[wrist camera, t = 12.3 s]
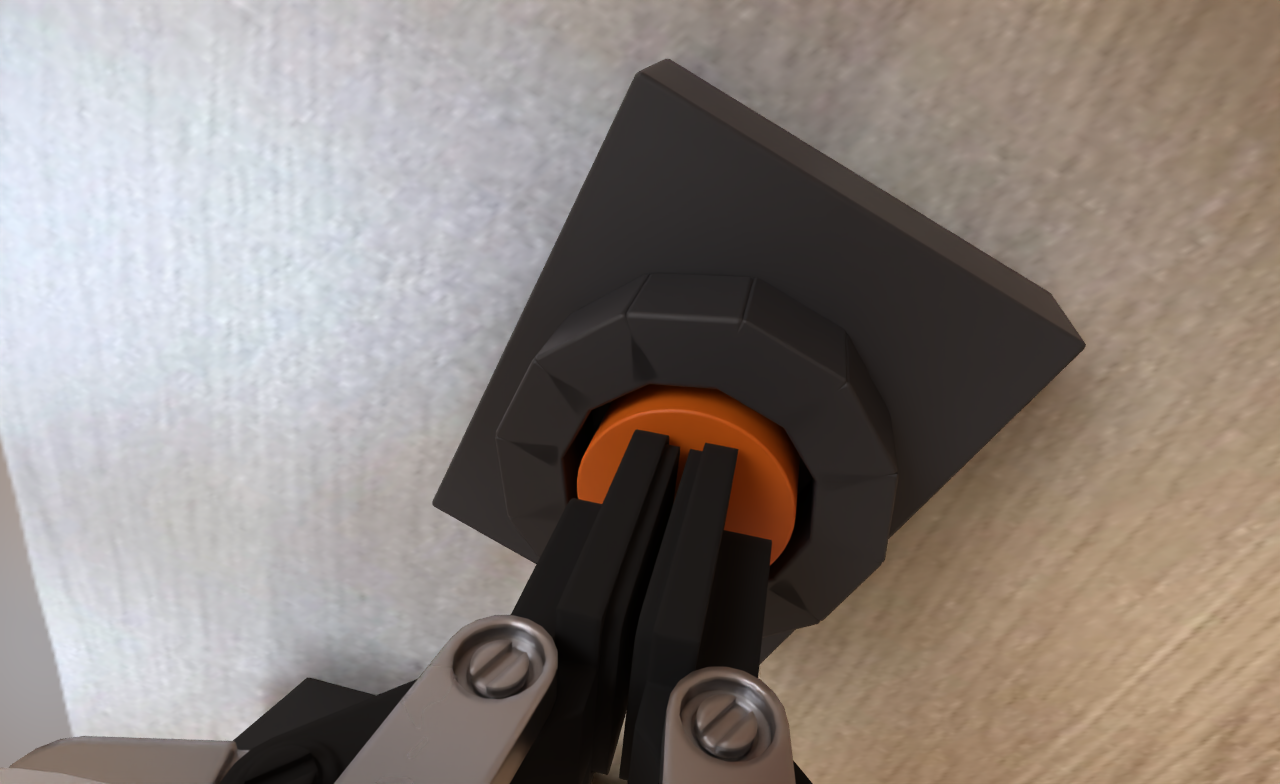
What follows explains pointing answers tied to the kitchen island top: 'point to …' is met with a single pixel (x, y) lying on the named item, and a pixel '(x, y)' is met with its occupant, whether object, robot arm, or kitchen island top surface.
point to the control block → (757, 336)
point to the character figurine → (299, 710)
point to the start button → (690, 422)
